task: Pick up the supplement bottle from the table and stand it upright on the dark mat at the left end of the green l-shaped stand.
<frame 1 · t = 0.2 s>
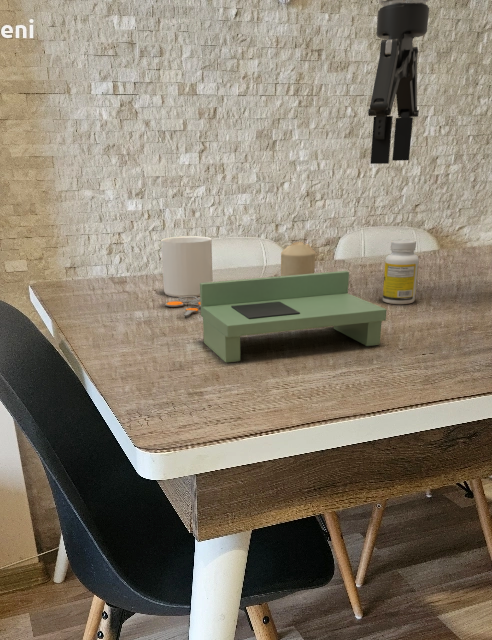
hand: (390, 162, 109), 21 cm above the table, tool pointing down, fingers open, 13 cm apart
green l-shaped stand: (290, 343, 91), on the table
mug: (187, 291, 124), on the table
candle: (296, 306, 112), on the table
key chain: (191, 308, 112), on the table
supplement bottle: (398, 302, 113), on the table
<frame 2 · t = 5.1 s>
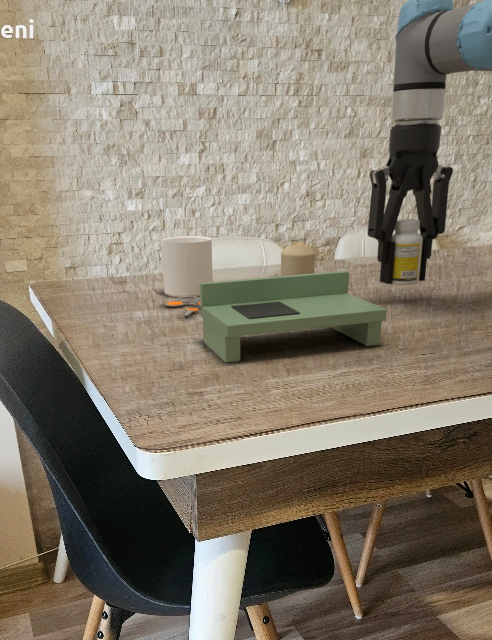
hand: (402, 280, 111), 3 cm above the table, tool pointing down, fingers closed on supplement bottle, 5 cm apart
supplement bottle: (401, 284, 111), point 3 cm above the table, touching gripper
everything else where it was.
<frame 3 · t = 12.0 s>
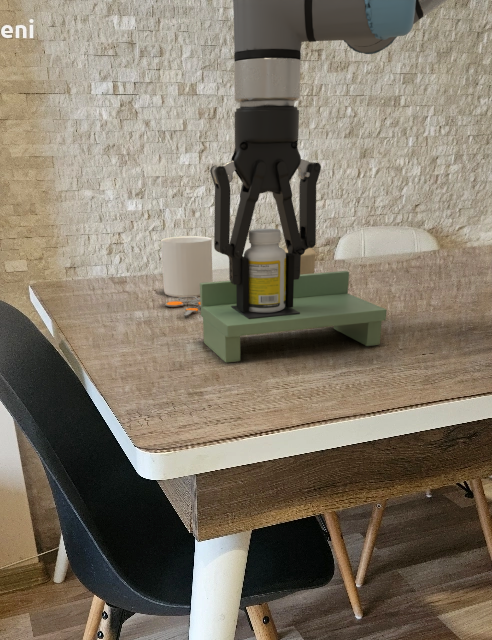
hand: (264, 306, 87), 5 cm above the table, tool pointing down, fingers closed on supplement bottle, 5 cm apart
supplement bottle: (264, 310, 88), point 5 cm above the table, touching gripper, green l-shaped stand
everything else where it was.
when the fingers open (5 cm above the table, at t = 12.0 s): supplement bottle stays where it is, resting on green l-shaped stand.
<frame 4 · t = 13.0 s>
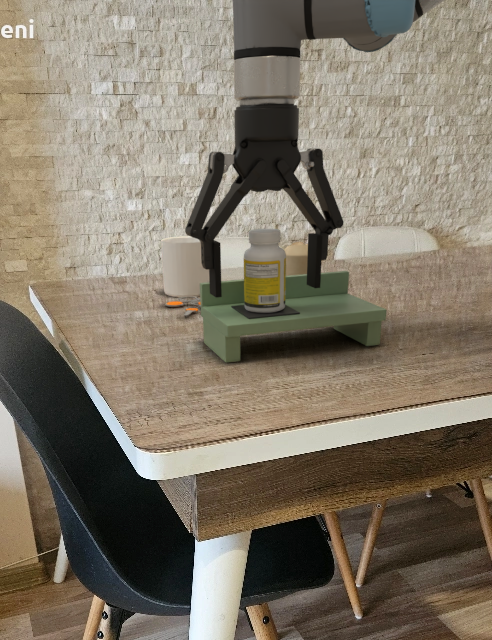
hand: (265, 291, 86), 8 cm above the table, tool pointing down, fingers open, 13 cm apart
supplement bottle: (264, 310, 88), point 5 cm above the table, touching green l-shaped stand
everything else where it was.
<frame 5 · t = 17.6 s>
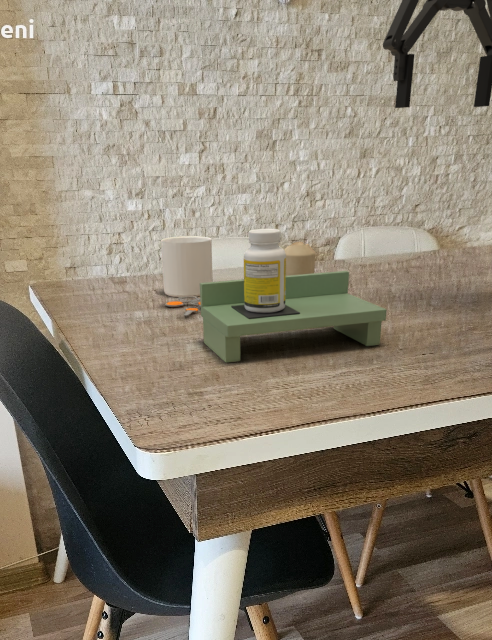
hand: (442, 107, 99), 29 cm above the table, tool pointing down, fingers open, 13 cm apart
nothing on the table moved.
at the end: supplement bottle inside the target area on the green l-shaped stand (0.1 cm from its centre), point 5.0 cm above the green l-shaped stand's base; supplement bottle tilted 0° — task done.
